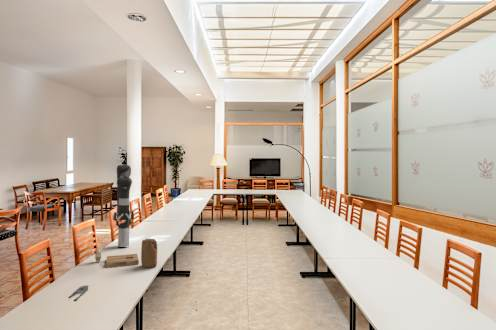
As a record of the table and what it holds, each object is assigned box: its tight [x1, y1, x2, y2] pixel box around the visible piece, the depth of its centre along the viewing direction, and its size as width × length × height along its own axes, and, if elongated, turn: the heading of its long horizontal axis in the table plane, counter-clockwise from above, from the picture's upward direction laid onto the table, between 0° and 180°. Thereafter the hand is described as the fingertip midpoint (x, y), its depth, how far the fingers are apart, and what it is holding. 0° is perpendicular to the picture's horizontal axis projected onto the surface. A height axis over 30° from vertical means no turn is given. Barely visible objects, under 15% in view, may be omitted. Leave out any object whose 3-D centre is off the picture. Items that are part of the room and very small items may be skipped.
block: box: [140, 238, 158, 269], centre depth 233 cm, size 11×8×20 cm
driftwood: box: [67, 284, 89, 301], centre depth 185 cm, size 21×7×2 cm, turn 3°
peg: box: [94, 247, 102, 264], centre depth 240 cm, size 4×4×10 cm
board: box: [105, 253, 140, 269], centre depth 241 cm, size 18×22×3 cm
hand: (123, 225), depth 240 cm, fingers open, 8 cm apart
